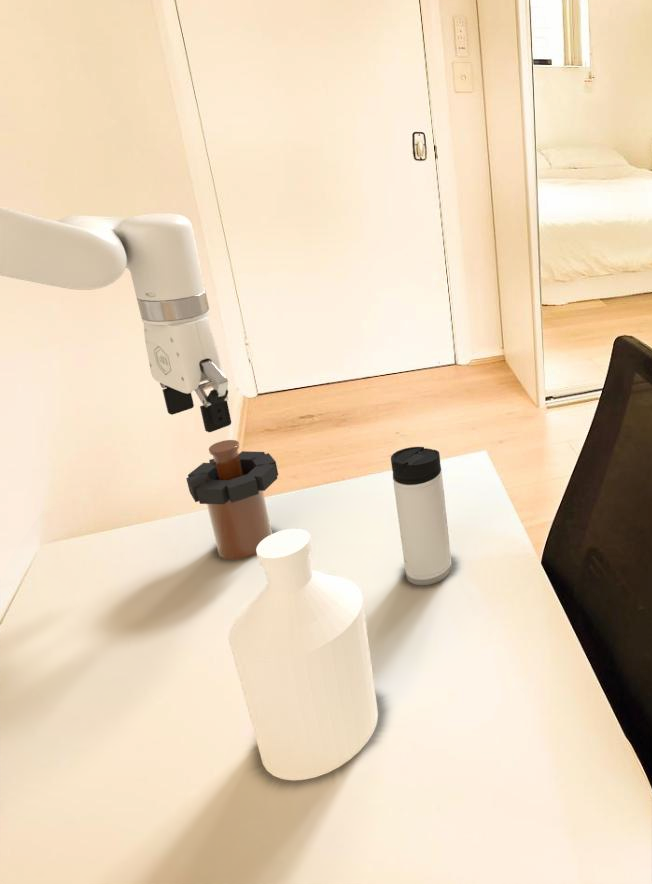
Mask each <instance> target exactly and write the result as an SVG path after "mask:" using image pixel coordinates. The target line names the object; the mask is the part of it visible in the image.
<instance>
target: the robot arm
mask: <svg viewBox="0 0 652 884" xmlns="http://www.w3.org/2000/svg"><path fill="white" fill-rule="evenodd" d="M126 269H127V270H129V272H130V276H131V280H132V285H133V288H134V292H135V297H136V301H137V306H138V310H139V313H140V314H139V315H140V317H141V322H142V323H143V333H144V341H145V348H146V352H147V358H148V365H149V370H150V374H151V377H152V378H153V379H154V380H155V381H156V382H158V383H159V385H160V387H161V389H162V394H163V398H164V402H165V407H166V411H167V413H168V414H169V415H171V416H173V415H176V414H179V413H182V412H185V411H188V410H192V409H193V408H194V406H195V404H194V399H193V395H192V393H193V392H195V394H196V395H197V397H198V398H199V400H200V402H201V403H202V405H200V406H199V408H200V413H201V416H202V423H203V426H204V431H205V432H207V433H212V432H215V431H218V430H221V429H223V428H226V427H229V426H231V424H232V417H231V414H230V409H229V404H228V403H229V402H228V401H229V395H228V394H229V390H228V385H229V379H228V378H227V377H226V376H225V374H224V373H223V367H222V363H221V358H220V355H219V354H220V353H219V350H218V347H217V343H216V339H215V336H214V333H213V330H212V326H211V324H210V321H209V318H208V317H209V315H210V314H211V310H210V304H209V300H208V294H207V290H206V285H205V280H204V276H203V270H202V266H201V261H200V256H199V251H198V245H197V241H196V236H195V231H194V228H193V225H192V222H191V221H190V220H189V218H187V217H186V216H184V215H182V214H177V213H168V212H167V213H166V212H165V213H160V212H159V213H148V214H146V213H145V214H138V215H134V216H105V215H104V216H103V215H101V216H100V215H72V216H66V217H63V218H61V219H57V220H52V219H48V218H44V217H40V216H36V215H33V214H29V213H26V212H25V213H24V212H21V211H18V210H15V209H12V208H9V207H5V206H2V205H0V276H1V277H6V278H10V279H16V280H20V281H25V282H31V283H36V284H41V285H46V286H50V287H51V286H52V287H57V288H62V289H67V290H75V291H76V290H77V291H91V290H99V289H102V288H103V289H104V288H105V287H108V286H110V285H112V284H114V283H115V282H116V281H118V280H119V279H120V278H121V277H122V275H123V274H124V272H125V270H126ZM203 382H204V383H203ZM200 383H201V384H200ZM208 389H212V390H210V392H209V393H208V395H207V393H206V391H205V390H208Z"/></svg>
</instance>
